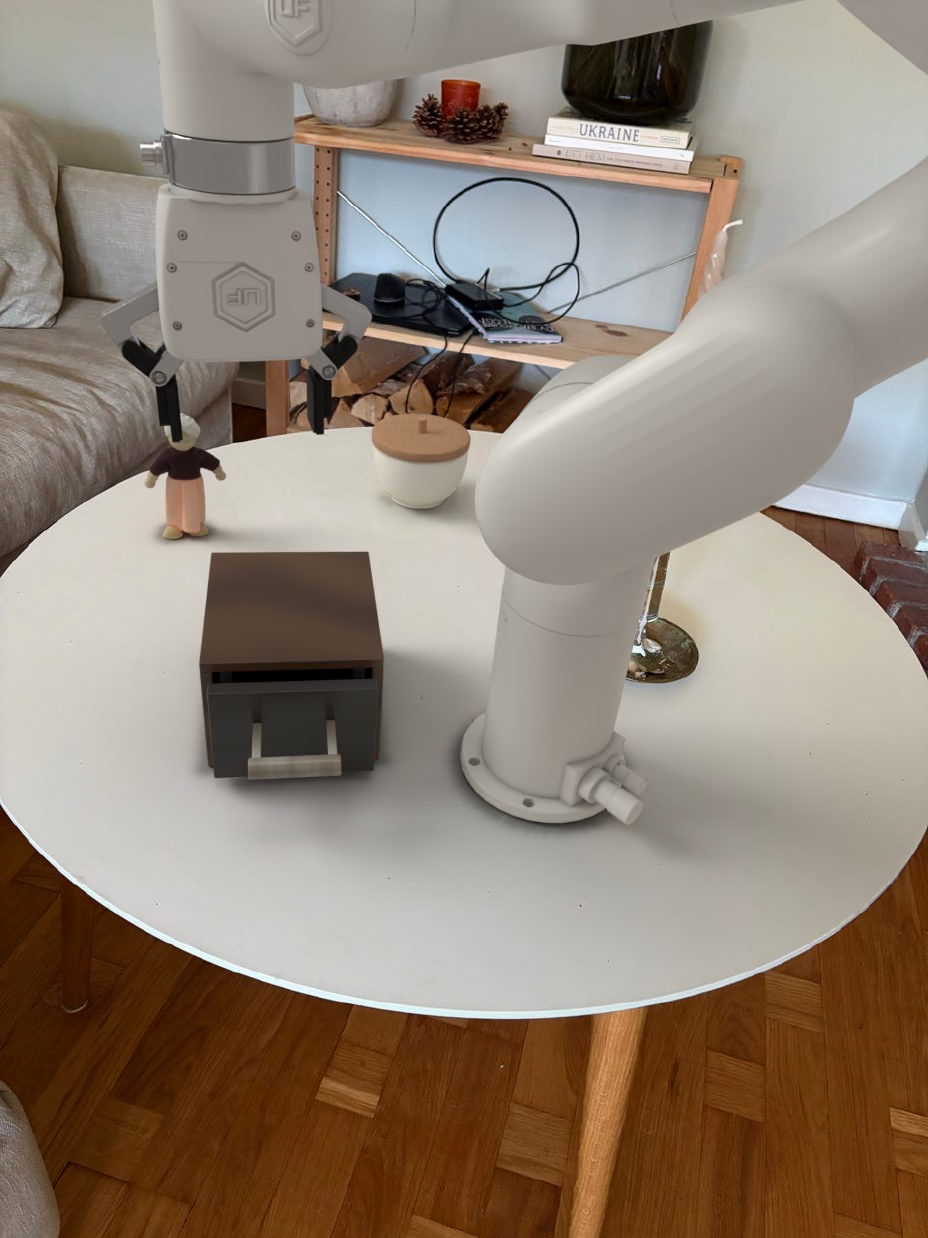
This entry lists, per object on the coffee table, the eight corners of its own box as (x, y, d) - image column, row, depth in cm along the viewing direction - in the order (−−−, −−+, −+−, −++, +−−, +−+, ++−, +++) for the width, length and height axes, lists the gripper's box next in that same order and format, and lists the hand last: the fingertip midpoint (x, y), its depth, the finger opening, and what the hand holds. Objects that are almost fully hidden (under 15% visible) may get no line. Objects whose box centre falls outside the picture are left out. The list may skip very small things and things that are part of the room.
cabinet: (379, 759, 73) (384, 658, 67) (208, 766, 70) (198, 663, 65) (365, 644, 84) (368, 551, 79) (218, 648, 82) (211, 552, 77)
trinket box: (360, 477, 110) (362, 400, 105) (449, 472, 114) (455, 397, 108) (381, 523, 102) (385, 441, 97) (476, 516, 105) (485, 436, 100)
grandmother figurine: (159, 547, 94) (146, 427, 87) (147, 529, 97) (134, 411, 90) (234, 532, 98) (227, 416, 91) (221, 515, 101) (213, 401, 93)
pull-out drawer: (379, 821, 66) (384, 737, 62) (210, 830, 64) (202, 744, 60) (361, 659, 81) (363, 582, 77) (223, 663, 79) (217, 583, 75)
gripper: (77, 174, 52) (118, 461, 62) (386, 181, 57) (379, 446, 67) (80, 149, 58) (117, 415, 68) (360, 158, 63) (357, 404, 73)
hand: (247, 430), depth 67 cm, fingers open, 9 cm apart
